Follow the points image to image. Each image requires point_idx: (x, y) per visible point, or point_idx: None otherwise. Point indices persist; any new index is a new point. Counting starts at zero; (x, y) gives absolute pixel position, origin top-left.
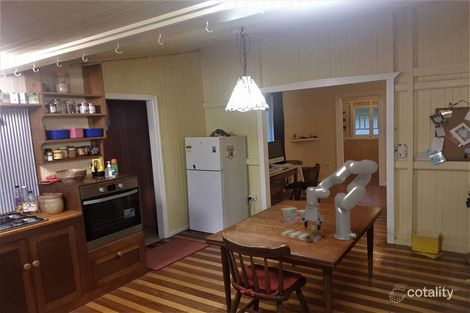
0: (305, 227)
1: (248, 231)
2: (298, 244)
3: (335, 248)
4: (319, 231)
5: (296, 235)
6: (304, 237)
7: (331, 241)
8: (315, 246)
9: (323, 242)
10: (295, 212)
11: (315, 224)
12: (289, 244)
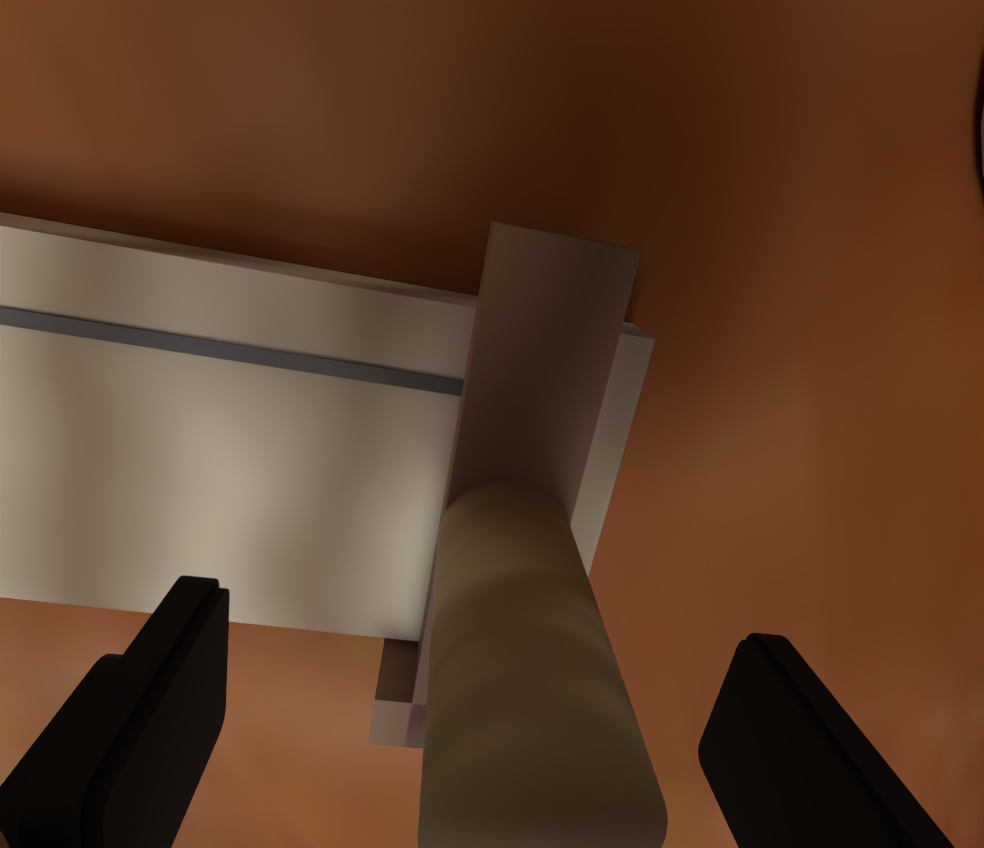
0: (211, 733)
1: None
2: (319, 791)
3: (946, 730)
4: (629, 252)
5: (65, 578)
6: (317, 630)
7: (889, 456)
8: None
9: (730, 564)
10: None
11: (664, 809)
12: (178, 837)
